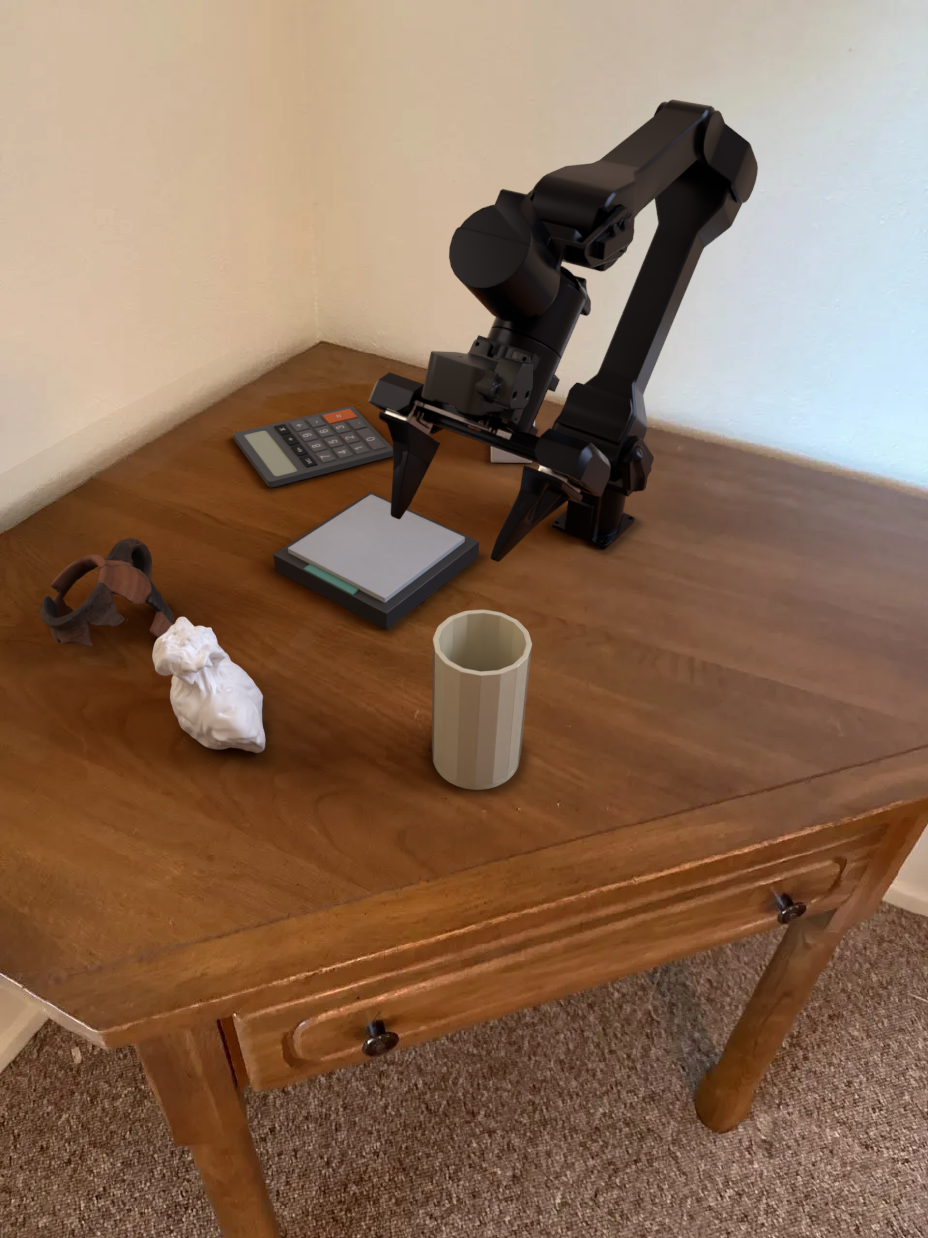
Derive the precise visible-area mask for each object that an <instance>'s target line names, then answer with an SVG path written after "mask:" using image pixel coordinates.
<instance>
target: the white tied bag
mask: <svg viewBox="0 0 928 1238" xmlns="http://www.w3.org/2000/svg"><path fill="white" fill-rule="evenodd" d="M151 659H152V662H153V665H154V670H155V672H156V673H157V674H158V675H161V676H164V677H165V676H170V675H172V677H171V680H170V681H171V686H170V692H169V694H170V695H169V700H170V704H171V707H172V710H173V713H174V715H175V717H176V718H177V721H178V725H179V726H180V728H181V729H182V730H183V731H184V732H185V733H186V734H188V735H189V736H190V737H191V738H192V739H195V740H196V742H198V743H199V744H201V745H202V746H204V747H205V748H208V749H212V750H227V749H228V748H233V749H240V750H244V751H246V752H252V753H256V754H260V753H262V752H263V751H264V750H265V748H266V734H265V730H264V726H263V725H264V724H263V699H264V695H263V693H262V691H261V689H260V687H258V685H256V682H254V679H252V678H251V677H250V675H249V674H248V673H247V672H246V671H245V670H244V669H243V668H242V667H241V666H239V665H238V664H236V663H234V662H233V661H232V660H231V657H230V656H229V654H228V653H227V652H225V650H224V649H223V648H222V647H221V646H220V645H219V643H218V639H217V635H216V634H215V632H214V631H213V629H212V627H208V626H207V627H205V626H204V625H196V626H195V625H193V623H192V622H191V621H190V620H189V619H188V618H187V617H185V616H179V617H178V618H177V619H176V620H175V621H174V624H173V625H172V626H171V627H170V628H169V629H168V631H167V632H166V633H164V634H163V635H162V636H160V637H159V638H157V639H156V640H155V642H154V645H153V649H152V657H151Z"/></svg>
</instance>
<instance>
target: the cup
mask: <svg viewBox="0 0 928 1238" xmlns="http://www.w3.org/2000/svg"><path fill="white" fill-rule="evenodd" d="M532 649H533V642H532V638H531V635H530V632H529V631H528V629H527V628H525V626H524V625H523V624H522V623H521V622H520V621H519V620H518V619H516V618H514V617H512V616H510V615H507V614H506V613H504V612H501V611H496V610H495V611H494V610H489V609H472V610H471V609H470V610H464V611H461V612H458V613H455V614H452V615H450V616H448V617H447V618H446V619H445V620H444V621H442V622H441V623H440V624H439V625H438V626H437V627H436V630H435V633H434V635H433V637H432V671H431V672H432V673H431V674H432V676H431V677H432V679H431V681H432V685H431V686H432V687H431V689H432V691H431V753H432V754H431V755H432V756H431V757H432V763H433V765H434V768H435V769H436V771H437V773H438V774H439V775H440V776H441V778H443V779H444V780H445V781H446V782H448V783H449V784H452V785H454V786H456V787H458V788H461V789H466V790H473V791H484V790H489V789H494V788H496V787H500V786H502V785H503V784H505V783H506V782H507V781H509V780H510V779H511V778H512V777H513V776H514V775H515V773H516V771H517V770H518V768H519V766H520V760H521V755H522V747H523V739H524V738H523V737H524V727H525V719H526V718H525V717H526V707H527V697H528V690H529V689H528V687H529V678H530V670H531V669H530V668H531V660H532V659H531V657H532Z"/></svg>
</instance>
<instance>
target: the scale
mask: <svg viewBox="0 0 928 1238" xmlns="http://www.w3.org/2000/svg"><path fill="white" fill-rule="evenodd" d="M479 549H480V541H479V540H478V539H475V538H473V537H471V536H468V535H466V534H465V533H462V532H459V531H458V530H456V529H453V528H451V527H449V526H446V525H445V524H443V523H440V522H438V521H436V520H434V519H431V518H429V517H427V516H425V515H423V514H420V513H418V512H416V511H413V510H412V509H410V508H407V510H406V512H405V513H404V515H403V516H402V518H401V519H396V518H394V517H392V516H391V500H389V499H387V498H385V497H383V496H381V495H379V494H376V493H375V492H372V491H369V492H367V493H366V494H364V495H363V496H362V497H360V498H359V499H356V500H355V501H354V502H352V503H351V504H349V505H347V506H346V507H344V508H343V509H341V510H340V511H338V512H337V513H335V514H333V515H331V516H330V517H329V518H327V519H325V520H324V521H323V522H321V523H319V524H317V525H316V526H314V527H313V528H312V529H310V530H309V531H307V532H305V533H304V534H302V535H301V536H299V537H298V538H296V539H294V540H293V541H292V542H290V543H288V544H287V545H285V546H284V547H282V548H281V549H278V550H277V551H276V552H274V553H273V555H272V556H273V563H274V570H275V572H277V573H278V574H281V575H283V576H285V578H286V577H287V579H288V578H289V579H290V580H292V581H294V582H296V583H298V584H300V585H301V586H303V587H305V588H307V589H309V590H311V591H312V592H314V593H317V594H318V595H320V596H321V597H324V598H326V599H327V600H329V601H331V602H333V603H335V604H337V605H339V606H341V607H343V608H345V609H346V610H348V611H350V612H352V613H354V614H356V615H357V616H359V617H361V618H362V619H365V620H367V621H369V622H370V623H372V624H374V625H376V626H378V627H380V628H382V629H383V630H385V631H388V630H389V629H390V628H392V627H393V626H394V625H395V624H396V623H398V622H399V621H400V620H401V619H403V618H404V617H405V616H407V615H408V614H409V613H410V612H412V611H413V610H414V609H415V608H416V607H418V606H419V605H420V604H422V603H424V601H426V600H427V599H428V598H429V597H430V596H432V595H433V594H435V592H437V591H438V590H439V589H441V588H442V587H443V586H444V585H446V584H447V583H448V582H449V581H451V580H452V579H453V578H454V577H456V576H457V575H459V573H461V572H462V571H463V570H464V569H465V568H467V567H469V565H471V564H472V563H473V562H474V561H476V560H477V559H478V558H479Z"/></svg>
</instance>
